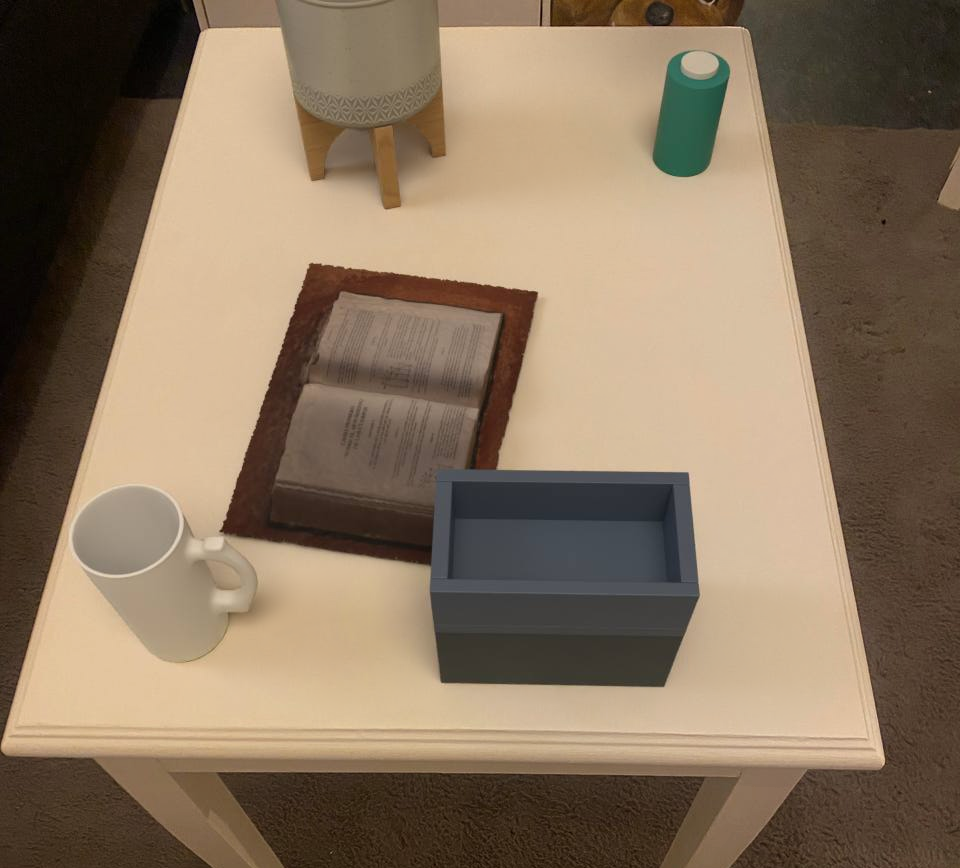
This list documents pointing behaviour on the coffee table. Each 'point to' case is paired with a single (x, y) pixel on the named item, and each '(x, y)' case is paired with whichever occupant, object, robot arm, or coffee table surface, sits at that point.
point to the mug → (158, 570)
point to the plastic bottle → (690, 112)
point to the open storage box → (561, 576)
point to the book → (379, 409)
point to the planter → (364, 76)
